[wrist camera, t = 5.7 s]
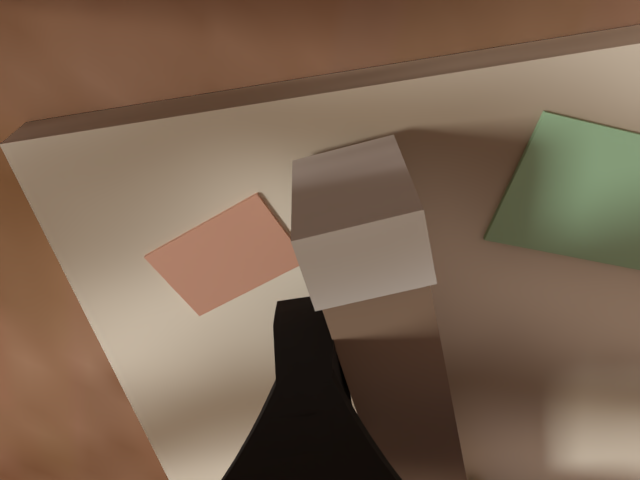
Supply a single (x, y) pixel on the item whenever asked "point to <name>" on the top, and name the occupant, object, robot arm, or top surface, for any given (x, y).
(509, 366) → the board
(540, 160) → the green tile
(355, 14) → the top surface
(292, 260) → the thin salmon tile
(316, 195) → the friction peg
